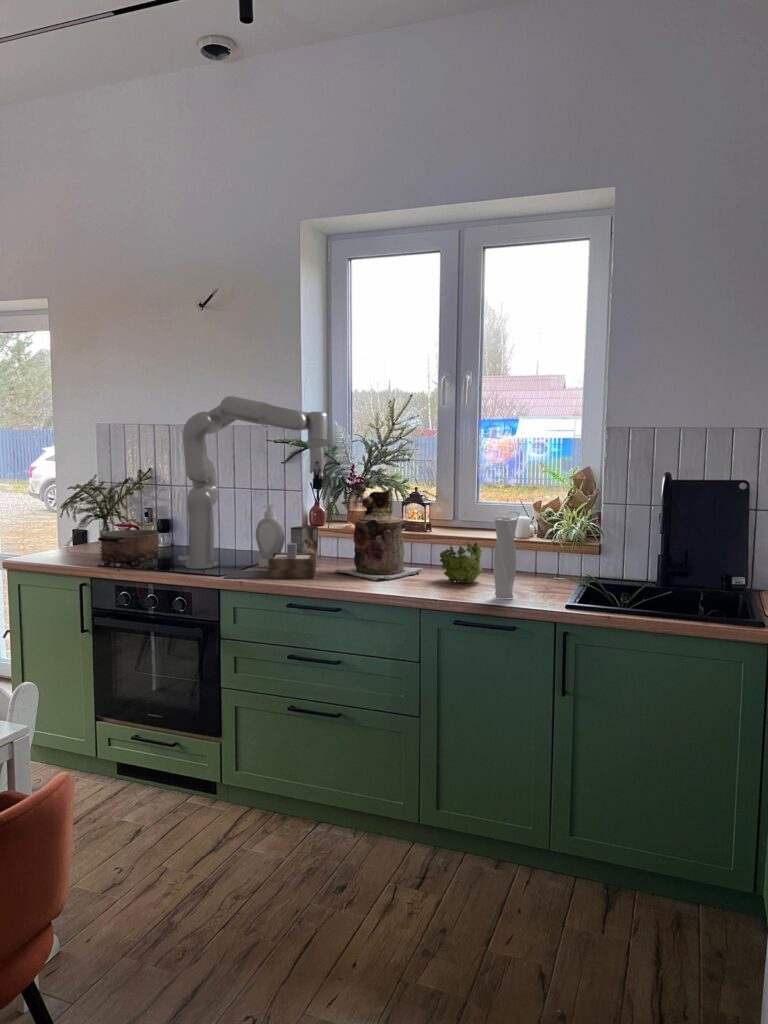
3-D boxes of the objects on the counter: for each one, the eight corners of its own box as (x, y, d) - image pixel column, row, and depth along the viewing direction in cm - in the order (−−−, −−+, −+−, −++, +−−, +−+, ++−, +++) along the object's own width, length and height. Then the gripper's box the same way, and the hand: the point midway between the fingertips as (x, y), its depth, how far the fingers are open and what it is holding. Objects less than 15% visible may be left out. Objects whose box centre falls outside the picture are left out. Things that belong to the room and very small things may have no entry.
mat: (223, 578, 273) (223, 577, 273) (231, 571, 288) (231, 570, 288) (265, 578, 273) (265, 577, 273) (270, 571, 288) (270, 570, 288)
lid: (272, 562, 275) (272, 545, 274) (275, 558, 286) (275, 541, 285) (308, 563, 275) (308, 546, 274) (310, 558, 286) (310, 541, 285)
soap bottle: (249, 567, 296) (248, 505, 294) (259, 564, 303) (259, 503, 301) (278, 569, 291) (278, 506, 289) (288, 566, 299) (288, 505, 296)
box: (268, 578, 273) (268, 559, 272) (273, 571, 288) (273, 552, 287) (313, 579, 274) (313, 559, 273) (315, 571, 288) (315, 553, 288)
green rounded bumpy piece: (493, 574, 261) (459, 545, 258) (462, 601, 268) (428, 573, 265) (494, 550, 277) (462, 522, 274) (464, 576, 284) (433, 549, 281)
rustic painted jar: (377, 565, 304) (378, 486, 301) (425, 574, 287) (426, 489, 284) (332, 573, 286) (333, 488, 283) (380, 582, 269) (381, 492, 266)
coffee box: (306, 565, 303) (306, 525, 302) (318, 566, 300) (318, 526, 298) (290, 568, 296) (290, 527, 294) (302, 569, 292) (302, 528, 291)
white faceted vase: (514, 595, 251) (516, 510, 248) (519, 600, 243) (521, 513, 241) (490, 594, 251) (492, 510, 248) (494, 599, 243) (496, 512, 240)
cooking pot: (125, 566, 296) (125, 539, 294) (82, 562, 304) (81, 535, 303) (175, 555, 323) (175, 530, 322) (134, 551, 332) (134, 527, 331)
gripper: (308, 443, 301) (308, 486, 303) (306, 444, 284) (306, 489, 286) (327, 443, 302) (327, 486, 303) (326, 444, 284) (326, 489, 286)
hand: (317, 488), depth 295 cm, fingers open, 9 cm apart
